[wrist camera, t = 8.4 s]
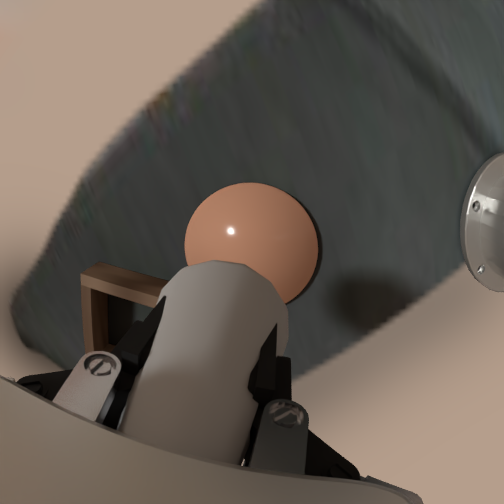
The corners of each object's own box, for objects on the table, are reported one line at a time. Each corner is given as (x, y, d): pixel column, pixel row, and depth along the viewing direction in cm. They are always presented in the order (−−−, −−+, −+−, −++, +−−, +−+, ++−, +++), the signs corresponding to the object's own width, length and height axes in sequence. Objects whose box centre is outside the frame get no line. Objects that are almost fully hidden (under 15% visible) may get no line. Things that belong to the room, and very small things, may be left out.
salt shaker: (164, 248, 15) (-45, 455, 3) (284, 240, 14) (283, 571, 2) (184, 349, 17) (86, 567, 4) (289, 348, 16) (285, 606, 4)
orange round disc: (332, 200, 22) (333, 201, 22) (298, 320, 25) (298, 323, 25) (197, 170, 22) (196, 170, 22) (178, 292, 25) (177, 294, 25)
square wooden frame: (201, 289, 25) (191, 305, 22) (188, 376, 28) (180, 396, 25) (99, 261, 25) (80, 273, 23) (100, 347, 28) (86, 364, 26)
